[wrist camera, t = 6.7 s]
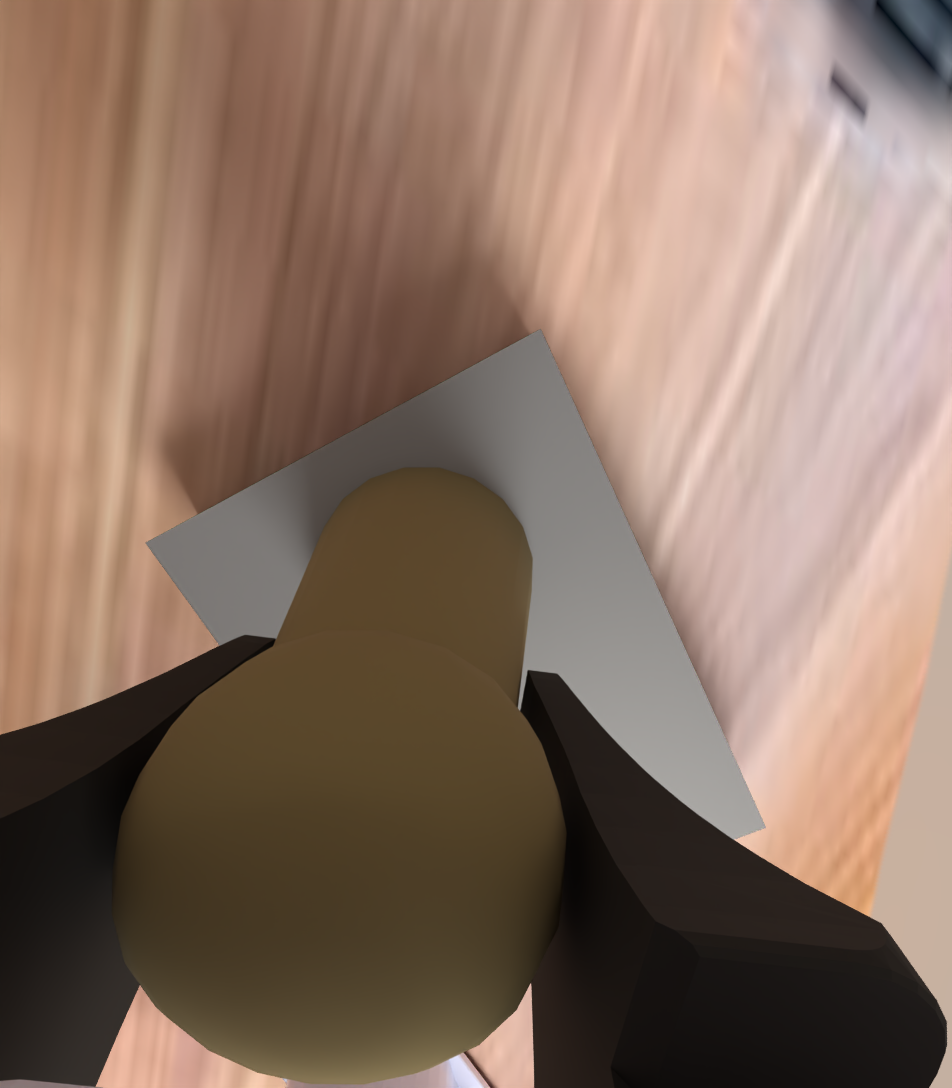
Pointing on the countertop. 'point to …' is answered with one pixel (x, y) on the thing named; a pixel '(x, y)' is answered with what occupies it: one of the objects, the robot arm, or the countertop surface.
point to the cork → (357, 807)
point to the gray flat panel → (555, 543)
